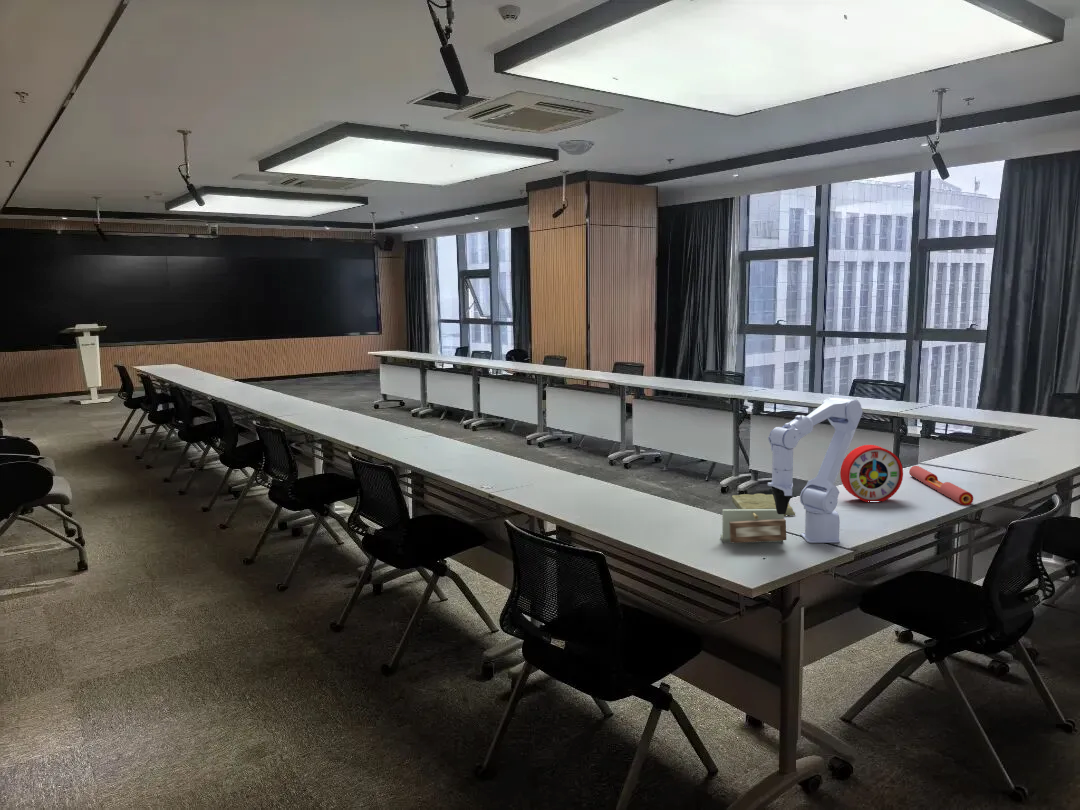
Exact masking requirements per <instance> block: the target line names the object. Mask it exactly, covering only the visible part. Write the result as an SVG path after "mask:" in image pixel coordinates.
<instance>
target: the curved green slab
mask: <svg viewBox="0 0 1080 810" xmlns="http://www.w3.org/2000/svg"><path fill="white" fill-rule="evenodd" d="M771 519H785V516H784V514H778V513H777V510H776V509H738V508H737V509H736V508H735V509H733V508H731V509H728V508H727V509H723V508H722V519H721V520H722V522H721V523H722V525H721V526H722V527H721V528H722V531H721V532H722V533H721V534H720V540H721V541H722V542H721V543H731V542H730V524H729V522H734V521H752V520H771ZM758 543H784V540H778V541H759V542H758Z"/></svg>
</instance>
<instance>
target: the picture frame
mask: <svg viewBox="0 0 1080 810" xmlns="http://www.w3.org/2000/svg"><path fill="white" fill-rule="evenodd" d="M729 524H730V542H729V543H731V544H735V543H736V544H737V543H760V542H759V541H778V540H783V541H787V519H785V518H784V519H771V520H752V521H734V522H729Z"/></svg>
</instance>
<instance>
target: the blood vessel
mask: <svg viewBox="0 0 1080 810" xmlns="http://www.w3.org/2000/svg"><path fill="white" fill-rule="evenodd" d="M908 471H909V473H908V474H909V476H910V475H911V476H913V477H915V478H916V479H915V478H914V479H915V480H917V479H918V480H919V482H920V481H921V482H920V483H922V482H923V483H922V484H924V485H926V486H927V485H928V487H929V486H930V487H929V488H931V489H933V490H934V489H935V490H934V491H936V490H937V491H936V492H938V493H940V494H941V495H943V494H944V495H943V496H945V497H947V498H949V499H950V498H951V500H952V501H954V502H956V503H958V504H959V505H961V506H970V505H972V503H973V501H974V496H973V494H972V493H971V492H969V491H967V490H965V489H963V488H962V487H959V486H958V485H956V484H953V483H952V482H949V481H945V482H942V481H939V479H938V476H937V475H936V474H934V473H932V472H930V471H928V470H927V469H924V468H923V467H921V466H918V465H913V466H911V467H910V468H909V470H908ZM911 476H910V477H911ZM913 477H912V478H913ZM918 480H917V481H918Z"/></svg>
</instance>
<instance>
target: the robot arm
mask: <svg viewBox="0 0 1080 810" xmlns="http://www.w3.org/2000/svg"><path fill="white" fill-rule="evenodd" d="M862 415H863V407H862V404H861V402H860V401H859V400H858V399H851V398H850V399H849V398H843V397H842V398H841V397H834V396H829V397H827V398H826V399H824V400H823V401H822V402H821V405H819V406H818V407H816V408H815V409H814V410H812V411H811V412H810V413H809V414H807V415H803V414H802V415H799V414H797V415H795V416H794V417H795V418H794V419H792V420H791V421H789V422H786V423H784V425H782V426H775V427H774V428H773V429H772V430H771V431H770V432H769V436H768V437H767V440H768V443H769V445H770V450H771V452H772V460H771V461H772V462H771V463H772V465H771V468H772V469H771V482H767V486H768V487H773V488H771V489H770V492H771V494H773V497H774V500H775V505H776V510H777V513H778V514H786V511H787V507H788V503H789V504H790V500H791V498H792V497H793V495H794V491H793V487H794V482H793V480H794V479H793V475H794V473H793V472H794V470H793V469H794V449H795V448H796V447H797V445H798V442H799V441H800V440H802V438H804V437H805V436H807V435H809V434H810V433H812V432H813V430H814V426H815V425H818V424H820V423H821V422H824V421H826V420H827V421H828V422H829V424H830V425H831V426H832V427H833V429H834V433H833V435H832V438H831V440H830V442H829V445H828V448H827V450H826V452H825V455H824V458H823V460H822V462H821V465H820V468H819V470H818V472H817V475H816V476H815V477H814V478H811V479H810V480H807V482H806V485H805V486H804V488H802V490H801V491H800V495H799V501H800V503H801V505H802V506H803V509H804V510H805V517H804V518H805V519H804V520H805V522H804V523H805V525H804V532H801V533H800V535H801V537H802V538H803V539H804V540H805V541H806V542H807V543H809V544H810V543H813V544H815V543H816V544H818V543H822V544H823V543H830V544H832V543H841V541H840V523H841V522H840V514H839V512H838V511H837V510H835V509H836V508H837V507H838V500H839V499H838V498H839V495H840V491H839V488H838V487H837V486H836V484H835V482H836V480H837V478H838V475H839V474H840V471H841V466H842V463H843V461H844V459H845V457H846V456H847V454H848V450H849V449H850V445H851V443H852V440H853V438H854V436H855V433H856V431H857V430H856V429H857V428H858V425H859V423H860V420H861V418H862Z"/></svg>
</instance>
